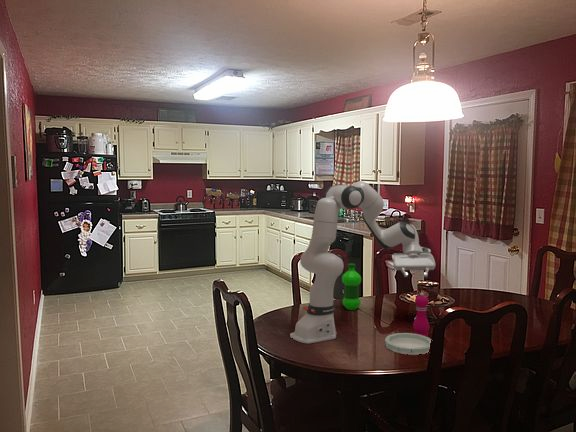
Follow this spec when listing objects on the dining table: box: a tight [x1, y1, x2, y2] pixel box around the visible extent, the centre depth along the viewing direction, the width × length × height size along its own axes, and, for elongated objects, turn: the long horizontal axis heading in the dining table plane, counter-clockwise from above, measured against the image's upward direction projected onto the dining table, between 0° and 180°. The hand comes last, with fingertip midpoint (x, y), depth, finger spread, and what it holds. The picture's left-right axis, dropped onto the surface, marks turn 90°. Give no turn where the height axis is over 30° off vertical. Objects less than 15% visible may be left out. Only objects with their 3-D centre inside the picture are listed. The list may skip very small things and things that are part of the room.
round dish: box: [384, 332, 432, 356], centre depth 211 cm, size 20×20×2 cm
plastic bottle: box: [341, 263, 362, 311], centre depth 268 cm, size 10×10×25 cm
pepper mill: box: [412, 292, 430, 337], centre depth 224 cm, size 7×7×20 cm
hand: (416, 276), depth 236 cm, fingers open, 8 cm apart
